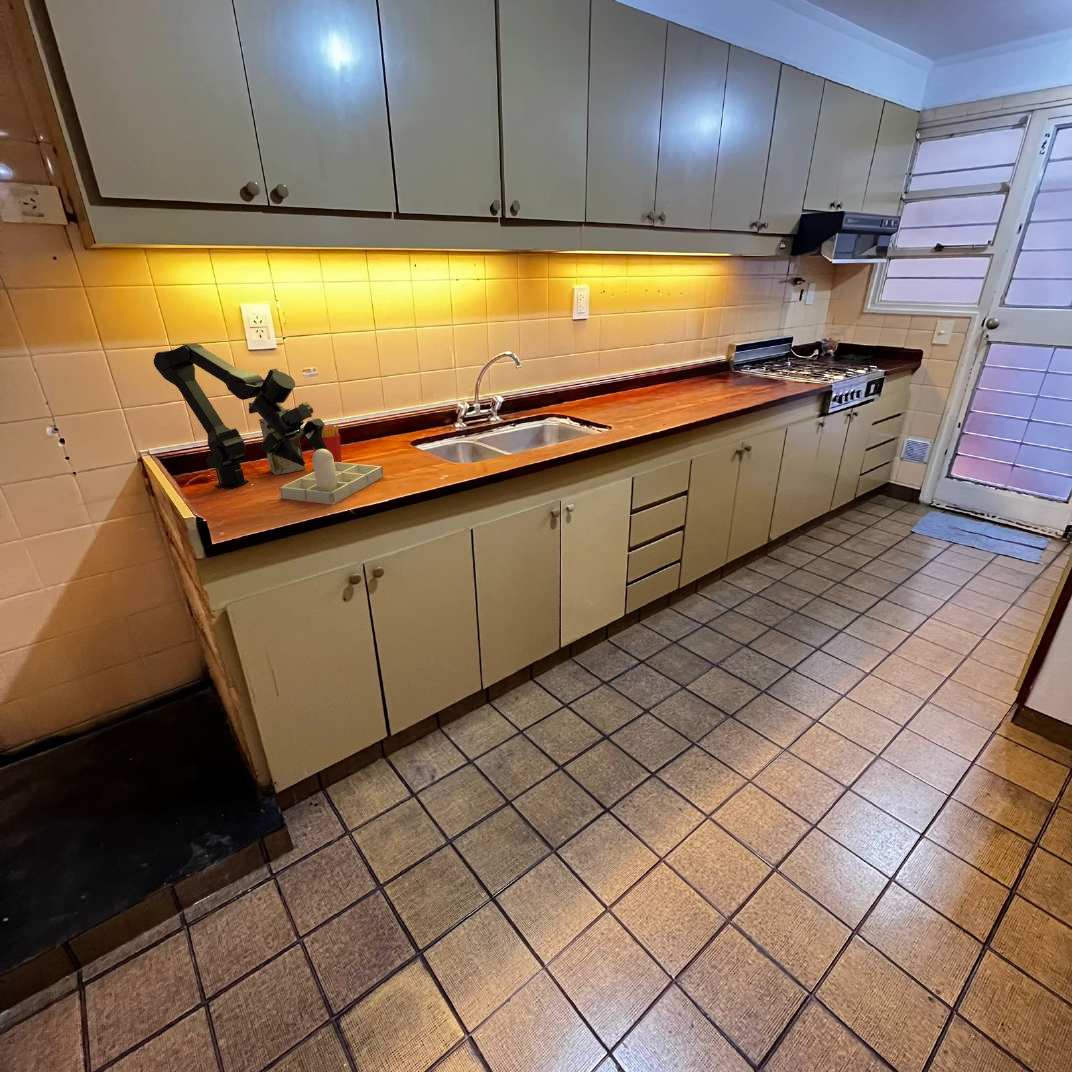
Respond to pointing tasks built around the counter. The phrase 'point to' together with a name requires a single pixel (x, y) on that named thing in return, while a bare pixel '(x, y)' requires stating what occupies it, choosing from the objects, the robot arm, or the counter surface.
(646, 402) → the counter surface
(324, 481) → the white rounded cylinder
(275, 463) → the coffee box
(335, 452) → the french fries
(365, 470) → the divided tray
